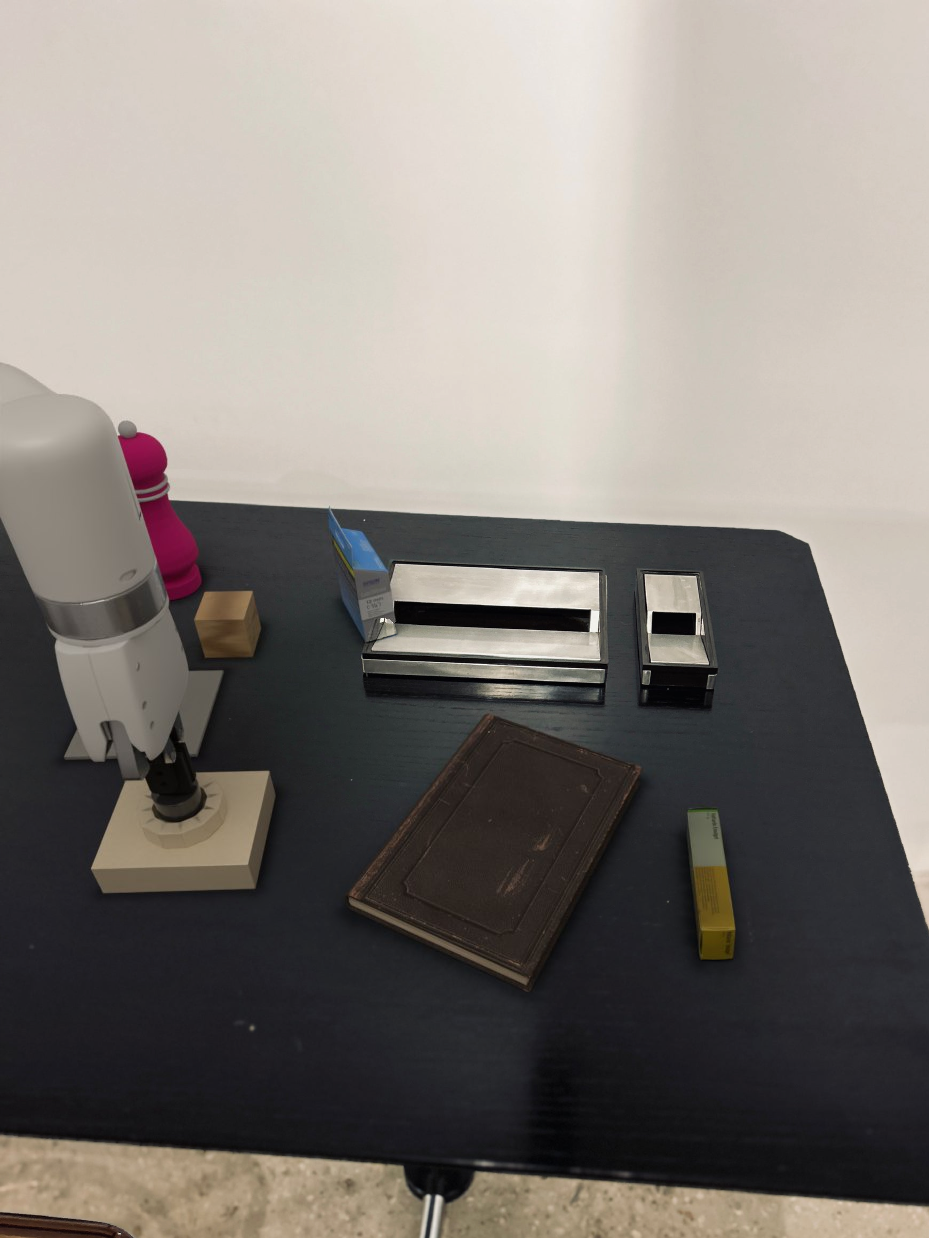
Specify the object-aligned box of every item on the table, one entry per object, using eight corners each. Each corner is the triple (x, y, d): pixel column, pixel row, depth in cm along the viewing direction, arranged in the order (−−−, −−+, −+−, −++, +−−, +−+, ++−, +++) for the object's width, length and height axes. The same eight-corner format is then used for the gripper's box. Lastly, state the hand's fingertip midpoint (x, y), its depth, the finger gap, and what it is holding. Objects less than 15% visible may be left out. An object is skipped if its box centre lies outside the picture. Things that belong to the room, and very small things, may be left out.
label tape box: (398, 635, 95) (389, 538, 87) (362, 645, 93) (349, 547, 85) (373, 593, 101) (361, 497, 92) (338, 601, 99) (324, 505, 91)
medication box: (684, 837, 75) (685, 805, 72) (716, 836, 74) (719, 804, 72) (697, 960, 65) (700, 929, 63) (734, 960, 65) (738, 929, 62)
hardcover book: (639, 784, 79) (642, 766, 77) (529, 993, 63) (529, 976, 62) (483, 728, 84) (483, 710, 83) (346, 909, 69) (342, 891, 67)
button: (152, 823, 69) (145, 806, 68) (164, 789, 72) (157, 772, 70) (198, 822, 69) (192, 805, 68) (208, 788, 72) (202, 771, 70)
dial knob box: (103, 893, 69) (83, 854, 66) (138, 798, 77) (121, 759, 74) (255, 889, 70) (243, 849, 67) (275, 795, 77) (265, 755, 74)
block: (204, 658, 91) (193, 619, 88) (215, 629, 95) (204, 591, 92) (253, 657, 92) (243, 619, 88) (261, 628, 95) (252, 590, 92)
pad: (65, 759, 80) (63, 756, 80) (105, 675, 89) (104, 672, 89) (197, 756, 81) (196, 753, 80) (224, 673, 90) (223, 670, 89)
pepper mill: (128, 598, 99) (71, 432, 86) (162, 564, 104) (113, 402, 91) (186, 608, 98) (137, 441, 85) (217, 573, 103) (176, 410, 90)
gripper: (82, 534, 62) (151, 721, 74) (-3, 669, 51) (96, 864, 63) (189, 532, 62) (241, 719, 74) (128, 666, 51) (201, 860, 63)
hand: (174, 785), depth 69 cm, fingers closed
